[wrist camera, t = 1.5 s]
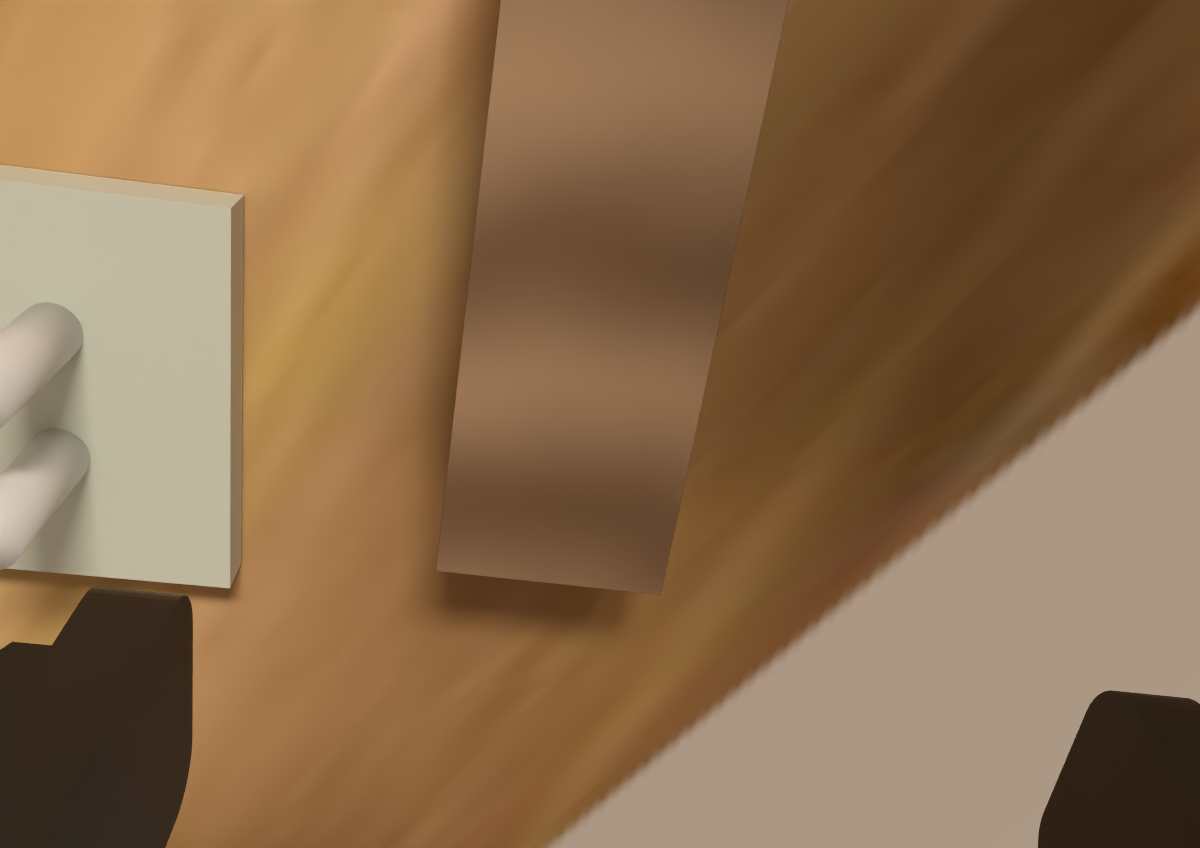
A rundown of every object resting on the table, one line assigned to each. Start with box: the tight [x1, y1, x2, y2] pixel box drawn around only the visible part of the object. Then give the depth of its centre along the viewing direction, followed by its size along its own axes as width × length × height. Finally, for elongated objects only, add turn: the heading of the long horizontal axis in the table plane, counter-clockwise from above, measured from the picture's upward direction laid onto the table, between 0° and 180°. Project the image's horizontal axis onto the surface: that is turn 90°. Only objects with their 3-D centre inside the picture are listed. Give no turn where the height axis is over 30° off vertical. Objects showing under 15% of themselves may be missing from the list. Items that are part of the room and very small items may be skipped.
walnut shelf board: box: [436, 0, 788, 595], centre depth 24 cm, size 16×5×4 cm, turn 171°
